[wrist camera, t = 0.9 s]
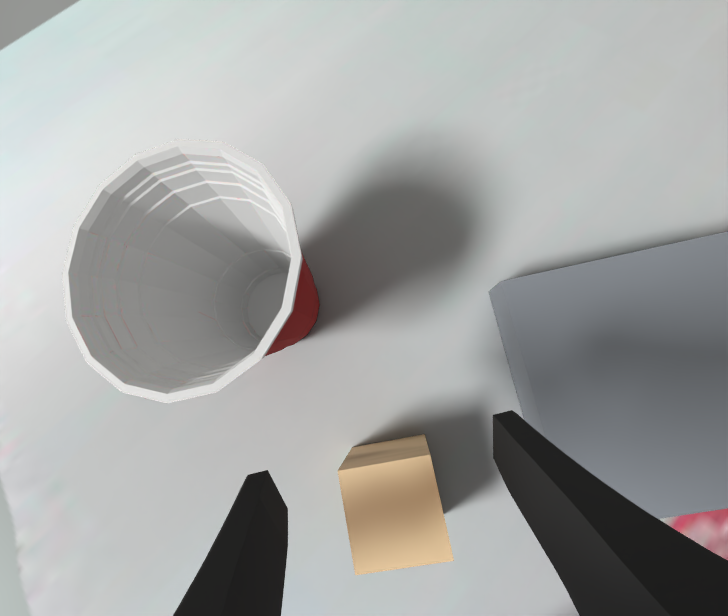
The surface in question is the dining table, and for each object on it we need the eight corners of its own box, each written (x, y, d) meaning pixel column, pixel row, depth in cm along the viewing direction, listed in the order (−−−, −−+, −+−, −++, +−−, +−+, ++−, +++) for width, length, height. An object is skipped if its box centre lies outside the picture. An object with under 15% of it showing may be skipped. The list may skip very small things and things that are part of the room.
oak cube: (442, 514, 21) (454, 560, 16) (366, 526, 21) (355, 575, 16) (424, 433, 22) (430, 454, 17) (352, 447, 22) (337, 471, 17)
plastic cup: (185, 313, 25) (-4, 270, 14) (282, 214, 26) (180, 89, 14) (277, 416, 23) (146, 472, 11) (382, 306, 24) (360, 251, 12)
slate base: (794, 468, 19) (865, 487, 16) (548, 507, 20) (573, 531, 17) (701, 245, 22) (747, 226, 19) (488, 291, 23) (500, 281, 20)
